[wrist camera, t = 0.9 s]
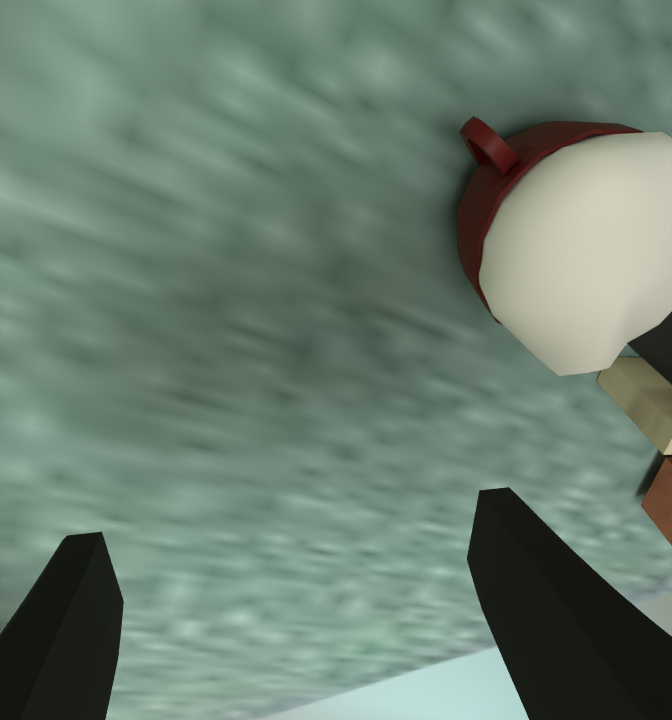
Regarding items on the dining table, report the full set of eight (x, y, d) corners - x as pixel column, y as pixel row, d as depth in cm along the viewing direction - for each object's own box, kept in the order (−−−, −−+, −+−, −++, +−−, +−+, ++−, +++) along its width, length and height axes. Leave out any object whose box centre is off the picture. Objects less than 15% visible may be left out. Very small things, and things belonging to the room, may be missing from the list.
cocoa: (396, 122, 18) (610, 308, 8) (596, 23, 17) (1120, 85, 7) (480, 357, 23) (673, 652, 13) (636, 288, 22) (967, 543, 12)
